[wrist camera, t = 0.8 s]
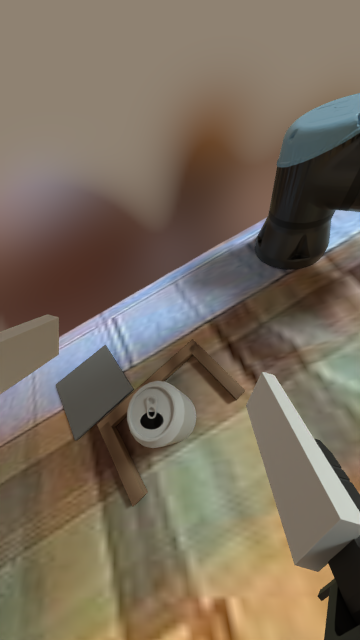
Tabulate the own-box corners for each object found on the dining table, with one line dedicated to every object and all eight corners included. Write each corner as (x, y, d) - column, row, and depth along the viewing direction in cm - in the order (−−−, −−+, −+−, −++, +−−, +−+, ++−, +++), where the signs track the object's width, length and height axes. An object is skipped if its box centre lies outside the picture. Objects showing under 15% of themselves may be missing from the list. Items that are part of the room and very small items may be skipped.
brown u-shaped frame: (193, 342, 37) (192, 339, 36) (244, 391, 31) (245, 390, 29) (101, 424, 33) (96, 424, 32) (137, 503, 26) (132, 506, 25)
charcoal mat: (106, 345, 42) (105, 344, 42) (133, 389, 35) (132, 389, 35) (57, 385, 40) (55, 384, 39) (77, 440, 33) (75, 440, 32)
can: (153, 441, 30) (115, 448, 20) (156, 393, 34) (126, 379, 24) (198, 442, 29) (181, 450, 19) (196, 392, 32) (181, 376, 22)
